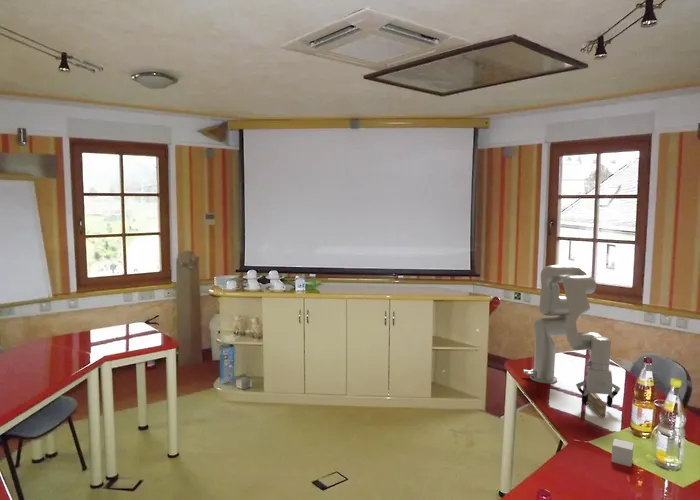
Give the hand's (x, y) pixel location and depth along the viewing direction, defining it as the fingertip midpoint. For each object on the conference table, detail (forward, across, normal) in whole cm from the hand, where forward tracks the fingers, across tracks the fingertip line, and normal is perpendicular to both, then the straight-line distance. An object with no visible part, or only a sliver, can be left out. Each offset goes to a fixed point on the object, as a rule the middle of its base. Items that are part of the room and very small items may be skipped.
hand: (596, 404), depth 217 cm
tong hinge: (+2, 0, +10) cm, 11 cm away
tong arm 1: (+2, -1, 0) cm, 2 cm away
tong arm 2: (+2, +1, 0) cm, 2 cm away
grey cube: (+3, -4, -44) cm, 44 cm away
